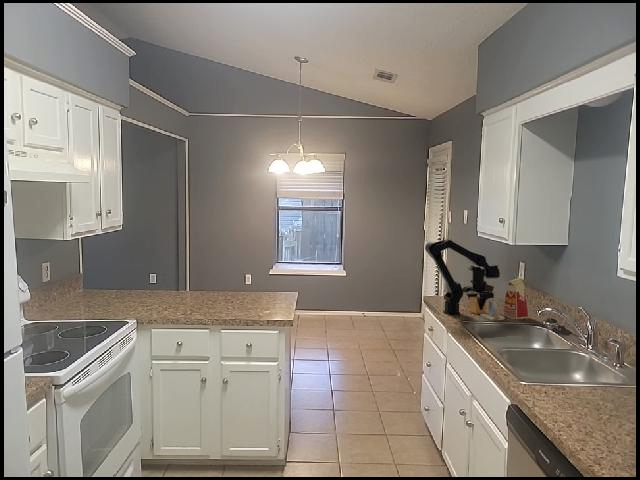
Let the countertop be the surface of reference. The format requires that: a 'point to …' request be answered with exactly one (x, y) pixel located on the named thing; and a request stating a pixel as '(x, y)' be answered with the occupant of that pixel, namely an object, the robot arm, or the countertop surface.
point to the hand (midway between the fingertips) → (477, 308)
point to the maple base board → (492, 317)
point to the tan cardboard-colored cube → (476, 306)
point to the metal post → (492, 308)
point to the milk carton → (516, 300)
